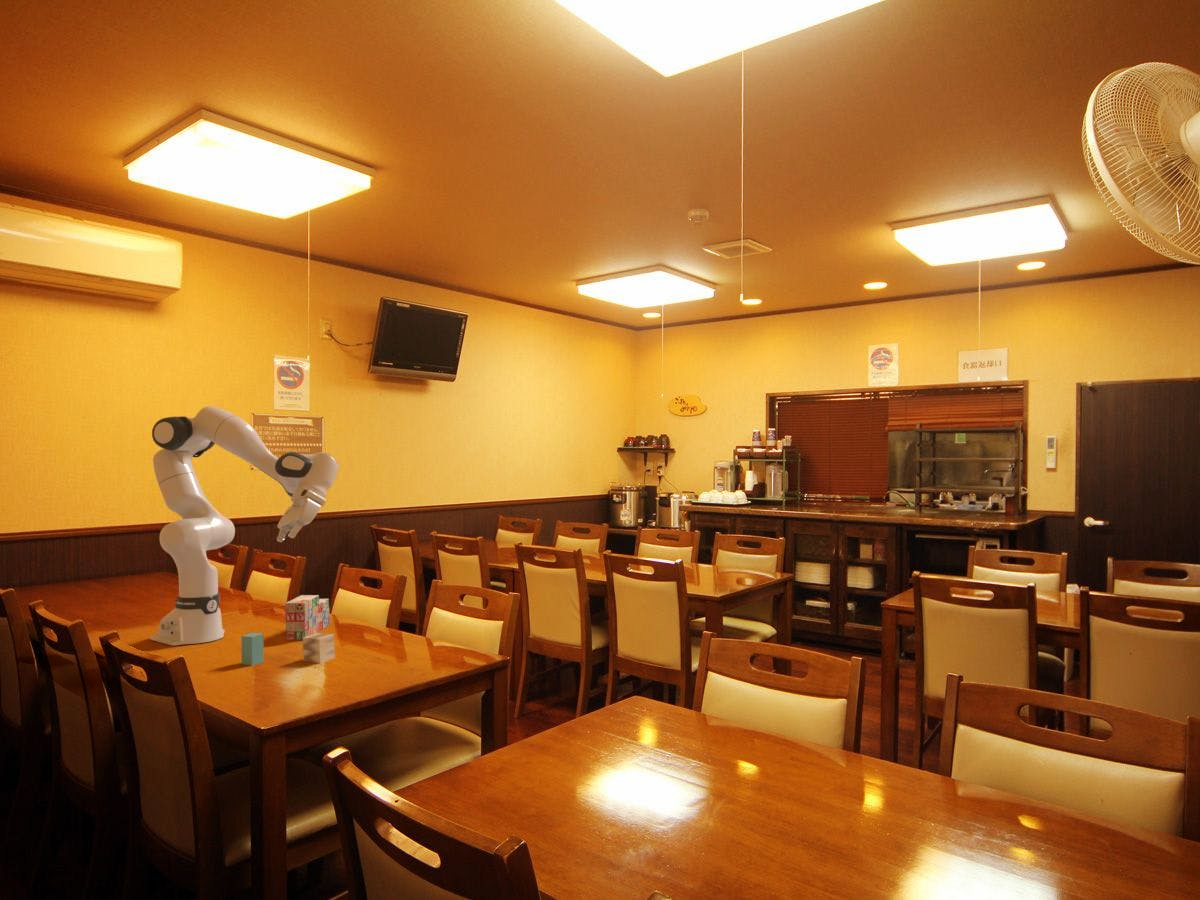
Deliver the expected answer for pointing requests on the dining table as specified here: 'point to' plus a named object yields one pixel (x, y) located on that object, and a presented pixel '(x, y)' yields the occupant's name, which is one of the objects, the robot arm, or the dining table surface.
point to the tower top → (318, 642)
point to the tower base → (319, 655)
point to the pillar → (252, 649)
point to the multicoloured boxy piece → (306, 616)
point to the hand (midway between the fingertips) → (285, 539)
